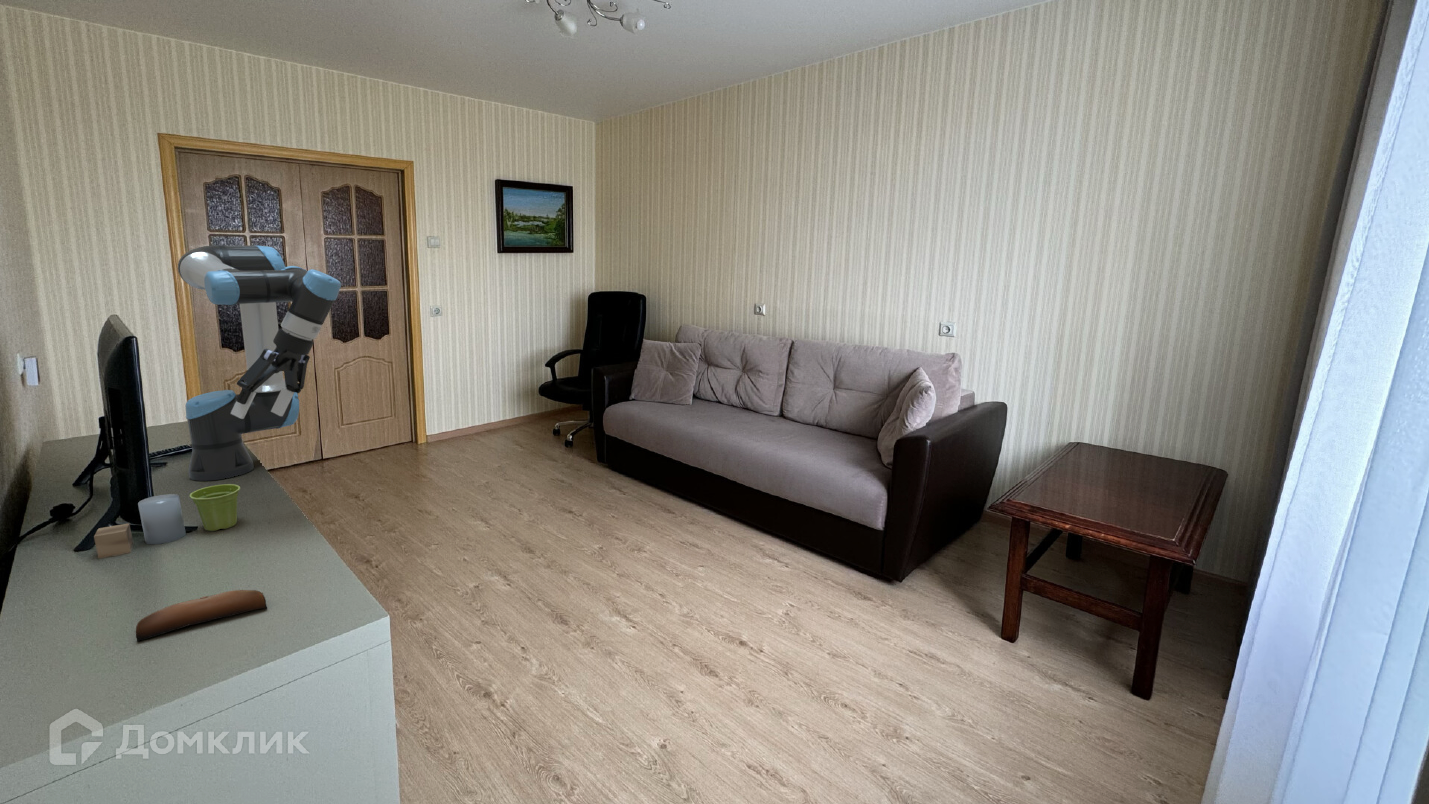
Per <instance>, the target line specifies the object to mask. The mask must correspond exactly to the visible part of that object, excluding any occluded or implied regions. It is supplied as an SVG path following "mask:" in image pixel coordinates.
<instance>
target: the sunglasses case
mask: <svg viewBox="0 0 1429 804" xmlns="http://www.w3.org/2000/svg"><path fill="white" fill-rule="evenodd" d="M263 608H264V609H266V610H267V609H268V607H267V601H266V597H265V595H264V593H263V592H262V591H259V590H256V589H255V590H253V589H238V590H229V591H228V590H227V591H224V592H220V593H217V594H212V595H209V596H207V595H205V596H204V595H203V596H201V597H199V598H196V599H190V600H189V599H188V600H187V601H182V602H177V603H174V604H171V605H168V606H166V607H164V608H160V609H159V610H157V611H154V612H152V613H150V614H148V615H146V616H145V617H143V618H141V619H140V620H139V621H138V622H137V625H136V628H135V639H136V642H140V641H142V640H147V639H149V638H152V637H156V636H160V635H163V634H166V633H169V632H171V631H176V630H179V629H181V628H185V627H187V626H193V625H197V624H201V623H206V622H209V621H213V620H217V619H221V618H225V617H230V616H235V615H238V614H239V615H240V614H242V613H246V612H251V611H255V610H261V609H263Z"/></svg>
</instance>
